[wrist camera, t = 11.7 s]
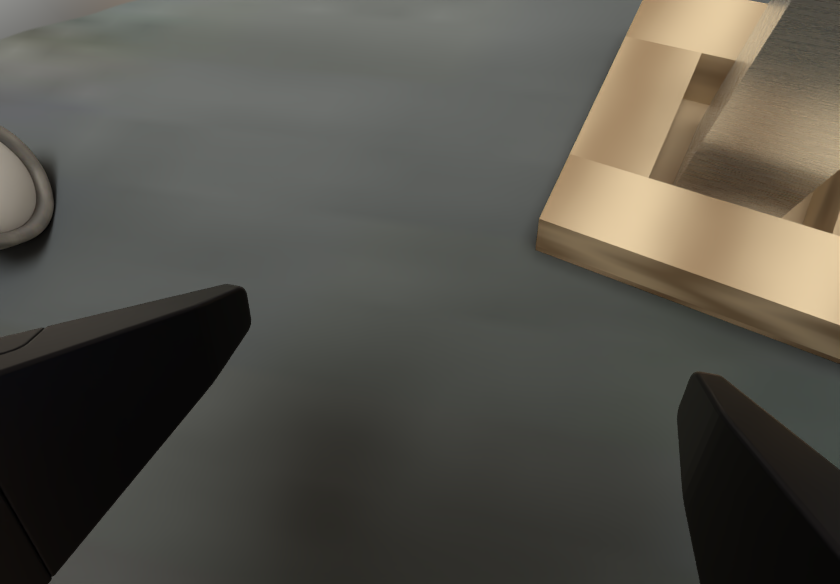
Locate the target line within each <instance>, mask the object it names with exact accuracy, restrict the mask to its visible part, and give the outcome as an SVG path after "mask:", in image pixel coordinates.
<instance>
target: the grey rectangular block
mask: <svg viewBox="0 0 840 584" xmlns="http://www.w3.org/2000/svg"><path fill="white" fill-rule="evenodd" d="M839 169H840V0H770V2H769V4H768V6H767V7H766V9H765V11H764V12H763V14H762V16H761V18H760V19H759V21H758V23H757V24H756V26H755V28H754V30H753V31H752V33H751V35H750V36H749V38H748V40H747V42H746V43H745V45H744V47H743V48H742V50H741V52H740V54H739V55H738V57H737V59H736V60H735V62H734V64H733V66H732V67H731V69H730V71H729V72H728V74H727V76H726V78H725V79H724V81H723V83H722V84H721V86H720V88H719V90H718V91H717V93H716V95H715V96H714V98H713V100H712V102H711V103H710V105H709V107H708V108H707V110H706V112H705V114H704V115H703V117H702V119H701V120H700V122H699V124H698V126H697V129H696V131H695V134H694V136H693V138H692V141H691V143H690V145H689V148H688V150H687V152H686V155H685V157H684V160H683V162H682V164H681V167H680V169H679V171H678V174H677V176H676V178H675V181H674V183H673V186H677V187H680V188H683V189H686V190H690V191H693V192H696V193H700V194H703V195H706V196H709V197H713V198H716V199H719V200H723V201H726V202H729V203H732V204H736V205H739V206H742V207H746V208H749V209H752V210H755V211H759V212H762V213H765V214H769V215H772V216H775V217H778V218H782V217H783V216H784V215H785V214H787V213H788V212H789V211H790V210H791V209H793V208H794V207H795V206H796V205H797V204H799V203H800V202H801V201H802V200H803V199H805V198H806V197H807V196H808V195H809V194H811V193H812V192H813V191H814V190H815V189H817V188H818V187H819V186H820V185H821V184H823V183H824V182H825V181H826V180H827V179H829V178H830V177H831V176H832V175H833V174H834V173H836V172H837V171H838V170H839Z"/></svg>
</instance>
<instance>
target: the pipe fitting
mask: <svg viewBox="0 0 840 584" xmlns="http://www.w3.org/2000/svg"><path fill="white" fill-rule="evenodd" d="M53 209H54V199H53V193H52V189H51V185H50V182H49V179H48V177H47V174H46V172H45V170H44V169H43V167H42V165H41V164H40V162H39V161H38V159H37V158H36V156H35V155H34V154H33V153H32V151H31V150H30V149H29V148H28V147H27V146H26V145H25V144H24V143H23V142H22V141H21V140H20V139H19V138H18V137H16V136H15V135H14V134H12V133H11V132H10V131H8V130H7V129H5V128H4V127H2V126H0V250H2V249H5V248H9V247H12V246H15V245H18V244H21V243H24V242H26V241H29V240H31V239H33V238H35V237H36V236H38V235H39V234H40V233H41V232H42V231H44V229H45V228H46V227H47V225H48V224H49V222H50V220H51V218H52V214H53Z"/></svg>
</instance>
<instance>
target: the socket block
mask: <svg viewBox="0 0 840 584" xmlns="http://www.w3.org/2000/svg"><path fill="white" fill-rule="evenodd" d="M767 6H768V4H765V3H760V2H754V1H749V0H643V1H642V3H641V5H640V7H639V9H638V11H637V13H636V16H635V18H634V20H633V22H632V24H631V26H630V28H629V30H628V32H627V35H626V37H625V39H624V41H623V43H622V45H621V47H620V49H619V51H618V54H617V56H616V58H615V60H614V62H613V64H612V66H611V68H610V70H609V73H608V75H607V77H606V79H605V81H604V83H603V85H602V87H601V89H600V92H599V94H598V96H597V98H596V100H595V102H594V104H593V106H592V108H591V110H590V113H589V115H588V117H587V119H586V121H585V123H584V125H583V127H582V129H581V132H580V134H579V136H578V138H577V140H576V142H575V144H574V146H573V148H572V151H571V153H570V155H569V157H568V159H567V161H566V163H565V165H564V167H563V170H562V172H561V174H560V176H559V178H558V180H557V182H556V184H555V186H554V189H553V191H552V193H551V195H550V197H549V199H548V201H547V203H546V205H545V208H544V210H543V212H542V214H541V216H540V218H539V225H538V233H537V241H536V250H537V251H540V252H543V253H545V254H548V255H551V256H553V257H556V258H559V259H561V260H564V261H567V262H569V263H572V264H575V265H577V266H580V267H583V268H585V269H588V270H591V271H593V272H596V273H599V274H601V275H604V276H607V277H609V278H612V279H615V280H617V281H620V282H623V283H625V284H628V285H631V286H633V287H636V288H639V289H641V290H644V291H647V292H649V293H652V294H655V295H657V296H660V297H663V298H665V299H668V300H671V301H673V302H676V303H679V304H681V305H684V306H687V307H689V308H692V309H695V310H697V311H700V312H703V313H705V314H708V315H711V316H713V317H716V318H719V319H721V320H724V321H727V322H729V323H732V324H735V325H737V326H740V327H743V328H745V329H748V330H751V331H753V332H756V333H759V334H761V335H764V336H767V337H769V338H772V339H775V340H777V341H780V342H783V343H785V344H788V345H791V346H793V347H796V348H799V349H801V350H804V351H807V352H809V353H812V354H815V355H817V356H820V357H823V358H825V359H828V360H831V361H833V362H836V363H839V364H840V169H839V170H838V171H837V172H836V173H834V174H833V175H832V176H831V177H830V178H829V179H827V180H826V181H825V182H824V183H823V184H821V185H820V186H819V187H818V188H817V189H815V190H814V191H813V192H812V193H811V194H809V195H808V196H807V197H806V198H805V199H803V200H802V201H801V202H800V203H799V204H797V205H796V206H795V207H794V208H793V209H791V210H790V211H789V212H788V213H787V214H785V215H784V216H783V217H782V218H778V217H775V216H772V215H769V214H765V213H762V212H759V211H755V210H752V209H749V208H746V207H742V206H739V205H736V204H732V203H729V202H726V201H723V200H719V199H716V198H713V197H709V196H706V195H703V194H700V193H696V192H693V191H690V190H686V189H683V188H680V187H677V186H673V183H674V181H675V178H676V176H677V174H678V171H679V169H680V167H681V164H682V162H683V160H684V157H685V155H686V152H687V150H688V148H689V145H690V143H691V141H692V138H693V136H694V134H695V131H696V129H697V126H698V124H699V122H700V120H701V119H702V117H703V115H704V114H705V112H706V110H707V108H708V107H709V105H710V103H711V102H712V100H713V98H714V96H715V95H716V93H717V91H718V90H719V88H720V86H721V84H722V83H723V81H724V79H725V78H726V76H727V74H728V72H729V71H730V69H731V67H732V66H733V64H734V62H735V60H736V59H737V57H738V55H739V54H740V52H741V50H742V48H743V47H744V45H745V43H746V42H747V40H748V38H749V36H750V35H751V33H752V31H753V30H754V28H755V26H756V24H757V23H758V21H759V19H760V18H761V16H762V14H763V12H764V11H765V9H766V7H767Z"/></svg>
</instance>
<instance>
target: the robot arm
mask: <svg viewBox="0 0 840 584" xmlns="http://www.w3.org/2000/svg"><path fill="white" fill-rule="evenodd" d="M250 325H251V315H250V309H249V303H248V297H247V293H246V291H245V289H244V288H243V287H240V286H235V285H230V284H224V285H219V286H215V287H211V288H207V289H203V290H198V291H194V292H190V293H186V294H182V295H177V296H173V297H169V298H165V299H161V300H156V301H152V302H148V303H144V304H140V305H135V306H131V307H127V308H123V309H118V310H114V311H110V312H106V313H102V314H97V315H93V316H89V317H85V318H81V319H76V320H72V321H68V322H64V323H60V324H55V325H51V326H48V327H46V328H38V329H34V330H30V331H26V332H21V333H17V334H13V335H8V336H4V337H0V584H48V583H49V582H50V581H51V579H52V576H54V575H55V574H56V573H57V572H58V571H59V569H60V568H61V567H62V566H63V565H64V563H65V562H66V561H67V560H68V558H69V557H70V556H71V555H72V554H73V552H74V551H75V550H76V549H77V548H78V546H79V545H80V544H81V543H82V542H83V540H84V539H85V538H86V537H87V535H88V534H89V533H90V532H91V531H92V529H93V528H94V527H95V526H96V525H97V523H98V522H99V521H100V520H101V518H102V517H103V516H104V515H105V514H106V512H107V511H108V510H109V509H110V508H111V506H112V505H113V504H114V503H115V502H116V500H117V499H118V498H119V497H120V495H121V494H122V493H123V492H124V491H125V489H126V488H127V487H128V486H129V485H130V483H131V482H132V481H133V480H134V478H135V477H136V476H137V475H138V474H139V472H140V471H141V470H142V469H143V468H144V466H145V465H146V464H147V463H148V461H149V460H150V459H151V458H152V457H153V455H154V454H155V453H156V452H157V451H158V449H159V448H160V447H161V446H162V445H163V443H164V442H165V441H166V440H167V438H168V437H169V436H170V435H171V434H172V432H173V431H174V430H175V429H176V428H177V426H178V425H179V424H180V423H181V421H182V420H183V419H184V418H185V417H186V415H187V414H188V413H189V412H190V411H191V409H192V408H193V407H194V406H195V405H196V403H197V402H198V401H199V400H200V398H201V397H202V396H203V395H204V394H205V392H206V391H207V390H208V389H209V387H210V386H211V385H212V384H213V382H214V381H215V379H216V378H217V377H218V375H219V374H220V372H221V371H222V369H223V368H224V366H225V365H226V363H227V362H228V360H229V359H230V357H231V356H232V354H233V353H234V351H235V350H236V348H237V347H238V345H239V344H240V342H241V341H242V339H243V338H244V336H245V335H246V333H247V332H248V330H249V328H250ZM677 425H678V439H679V453H680V467H681V481H682V492H683V500H684V506H685V512H686V517H687V522H688V526H689V531H690V536H691V541H692V546H693V551H694V556H695V561H696V566H697V570H698V575H699V580H700V584H840V470H839V469H838V468H837V467H836V466H834V465H833V464H832V463H830V462H829V461H828V460H827V459H825V458H824V457H823V456H822V455H820V454H819V453H818V452H817V451H815V450H814V449H813V448H812V447H810V446H809V445H808V444H807V443H805V442H804V441H803V440H802V439H800V438H799V437H798V436H796V435H795V434H794V433H793V432H791V431H790V430H789V429H788V428H786V427H785V426H784V425H783V424H781V423H780V422H779V421H778V420H776V419H775V418H774V417H773V416H771V415H770V414H769V413H767V412H766V411H765V410H764V409H762V408H761V407H760V406H759V405H757V404H756V403H755V402H754V401H752V400H751V399H750V398H749V397H747V396H746V395H745V394H744V393H742V392H741V391H740V390H739V389H737V388H736V387H735V386H733V385H732V384H731V383H730V382H728V381H727V380H726V379H725V378H723V377H722V376H720V375H715V374H710V373H705V372H695V373H693V374H692V375H691V377H690V379H689V382H688V384H687V387H686V390H685V392H684V395H683V398H682V400H681V403H680V405H679V409H678V414H677Z"/></svg>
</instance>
